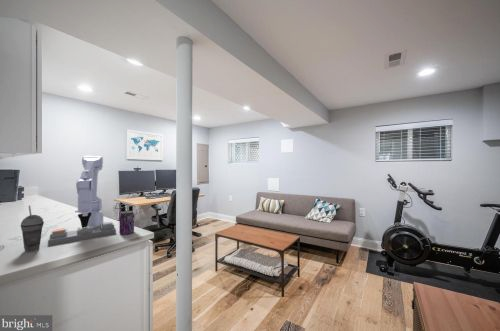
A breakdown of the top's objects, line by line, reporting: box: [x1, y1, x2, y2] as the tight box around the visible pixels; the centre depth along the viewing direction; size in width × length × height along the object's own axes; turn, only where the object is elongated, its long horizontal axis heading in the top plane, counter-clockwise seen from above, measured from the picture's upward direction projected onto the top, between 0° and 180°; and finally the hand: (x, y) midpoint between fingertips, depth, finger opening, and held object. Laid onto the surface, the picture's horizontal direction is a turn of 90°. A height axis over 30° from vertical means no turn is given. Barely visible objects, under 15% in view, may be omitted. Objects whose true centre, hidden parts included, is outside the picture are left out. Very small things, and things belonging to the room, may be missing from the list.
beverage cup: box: [20, 205, 45, 253], centre depth 91 cm, size 7×7×20 cm
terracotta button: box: [53, 227, 65, 234], centre depth 103 cm, size 4×4×2 cm
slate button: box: [102, 221, 113, 226], centre depth 116 cm, size 4×4×2 cm
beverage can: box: [118, 210, 135, 235], centre depth 115 cm, size 7×7×12 cm
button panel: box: [47, 222, 117, 247], centre depth 109 cm, size 27×11×4 cm, turn 130°
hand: (84, 227), depth 109 cm, fingers closed
